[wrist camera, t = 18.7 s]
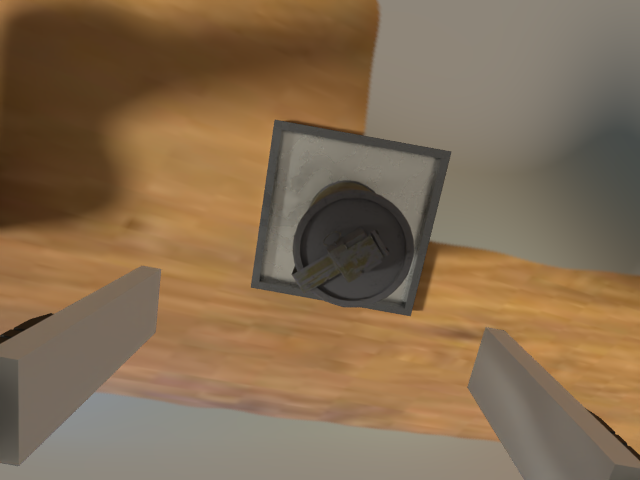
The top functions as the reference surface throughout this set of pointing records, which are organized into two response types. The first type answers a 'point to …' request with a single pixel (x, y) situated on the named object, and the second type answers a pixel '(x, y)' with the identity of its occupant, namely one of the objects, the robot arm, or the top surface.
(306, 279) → the canister
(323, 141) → the shallow grey tray
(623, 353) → the top surface
